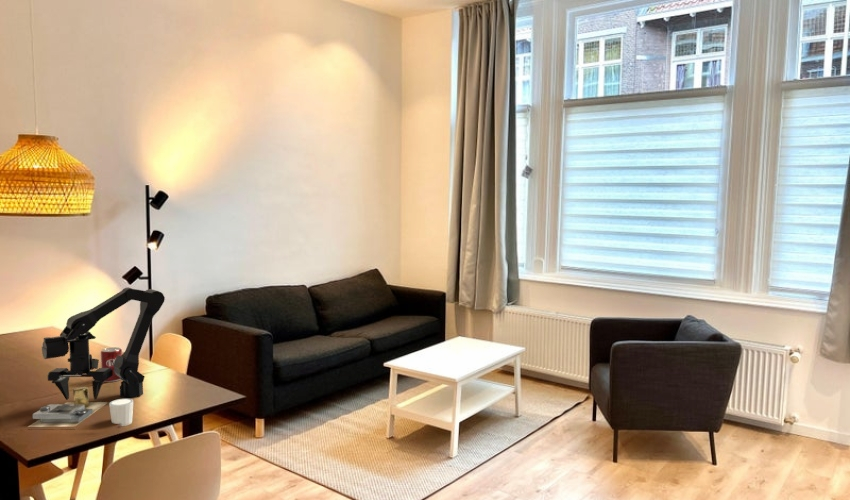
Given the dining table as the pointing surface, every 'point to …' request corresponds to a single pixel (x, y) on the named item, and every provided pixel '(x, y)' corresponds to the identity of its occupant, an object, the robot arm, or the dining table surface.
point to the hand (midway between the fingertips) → (81, 399)
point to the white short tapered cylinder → (121, 411)
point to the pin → (81, 396)
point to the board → (92, 405)
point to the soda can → (110, 361)
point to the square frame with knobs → (62, 413)
